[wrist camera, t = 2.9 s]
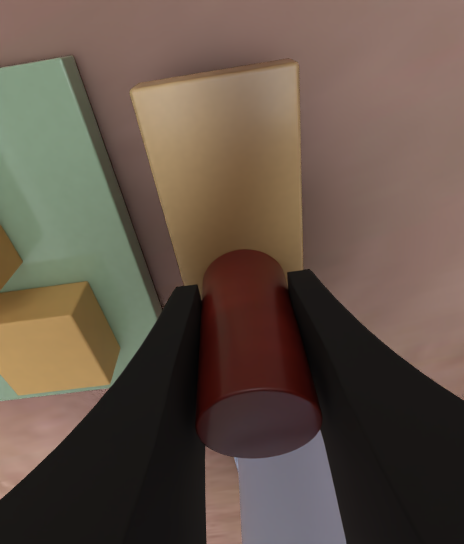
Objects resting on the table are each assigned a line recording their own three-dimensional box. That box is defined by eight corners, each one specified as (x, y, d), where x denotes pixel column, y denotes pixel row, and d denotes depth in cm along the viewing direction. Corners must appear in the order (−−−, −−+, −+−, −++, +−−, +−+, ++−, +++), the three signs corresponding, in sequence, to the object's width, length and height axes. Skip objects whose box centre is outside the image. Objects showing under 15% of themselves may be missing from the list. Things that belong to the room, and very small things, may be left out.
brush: (280, 51, 10) (392, 104, 4) (293, 336, 16) (339, 524, 10) (148, 73, 10) (34, 160, 4) (215, 346, 17) (214, 536, 11)
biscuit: (121, 348, 16) (110, 385, 14) (37, 358, 16) (18, 396, 14) (87, 279, 14) (70, 315, 12) (-10, 293, 14) (-40, 329, 12)
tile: (181, 364, 18) (180, 380, 17) (-17, 388, 19) (-28, 405, 18) (73, 54, 10) (60, 57, 9) (-276, 114, 11) (-316, 121, 10)
